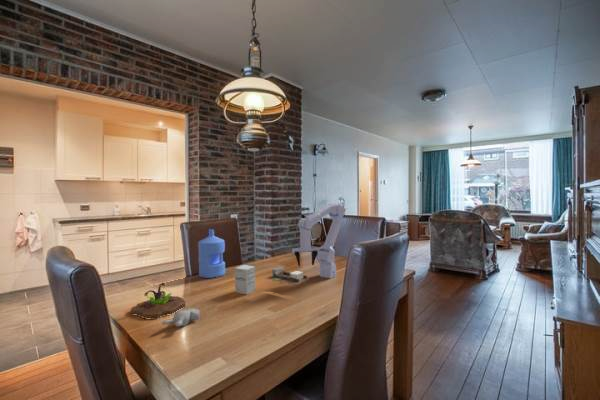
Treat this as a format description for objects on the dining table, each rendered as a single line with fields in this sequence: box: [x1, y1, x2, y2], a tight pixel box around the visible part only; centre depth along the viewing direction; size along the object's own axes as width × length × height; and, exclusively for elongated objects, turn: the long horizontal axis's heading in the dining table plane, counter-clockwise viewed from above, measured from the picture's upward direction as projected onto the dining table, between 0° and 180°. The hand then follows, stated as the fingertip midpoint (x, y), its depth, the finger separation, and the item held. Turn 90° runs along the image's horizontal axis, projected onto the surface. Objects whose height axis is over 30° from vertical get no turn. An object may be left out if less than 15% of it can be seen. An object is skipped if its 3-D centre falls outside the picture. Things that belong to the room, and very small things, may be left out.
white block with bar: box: [285, 270, 304, 280], centre depth 158 cm, size 5×10×4 cm, turn 144°
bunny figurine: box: [161, 307, 201, 327], centre depth 110 cm, size 10×5×15 cm
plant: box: [130, 282, 186, 318], centre depth 125 cm, size 20×20×11 cm
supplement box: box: [234, 264, 256, 295], centre depth 144 cm, size 7×7×13 cm
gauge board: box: [266, 266, 311, 286], centre depth 161 cm, size 22×13×5 cm, turn 54°
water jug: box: [197, 228, 227, 279], centre depth 175 cm, size 16×16×28 cm
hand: (305, 265), depth 156 cm, fingers open, 7 cm apart
